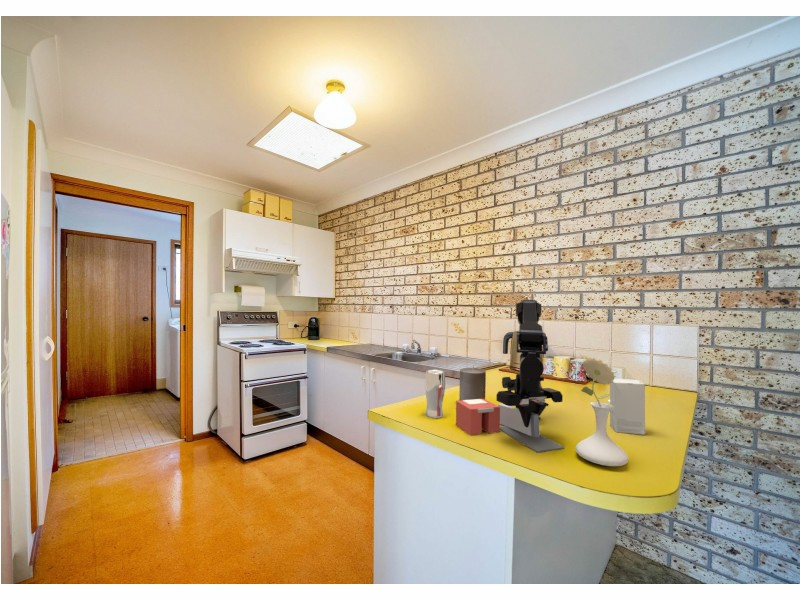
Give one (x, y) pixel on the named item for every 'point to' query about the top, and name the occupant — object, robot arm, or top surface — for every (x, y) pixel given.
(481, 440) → the top surface
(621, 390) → the skincare box
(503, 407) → the grey rectangular bar
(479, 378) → the pillar candle
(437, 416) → the beer glass
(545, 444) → the mat
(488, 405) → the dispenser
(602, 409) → the flower in vase
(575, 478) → the top surface
